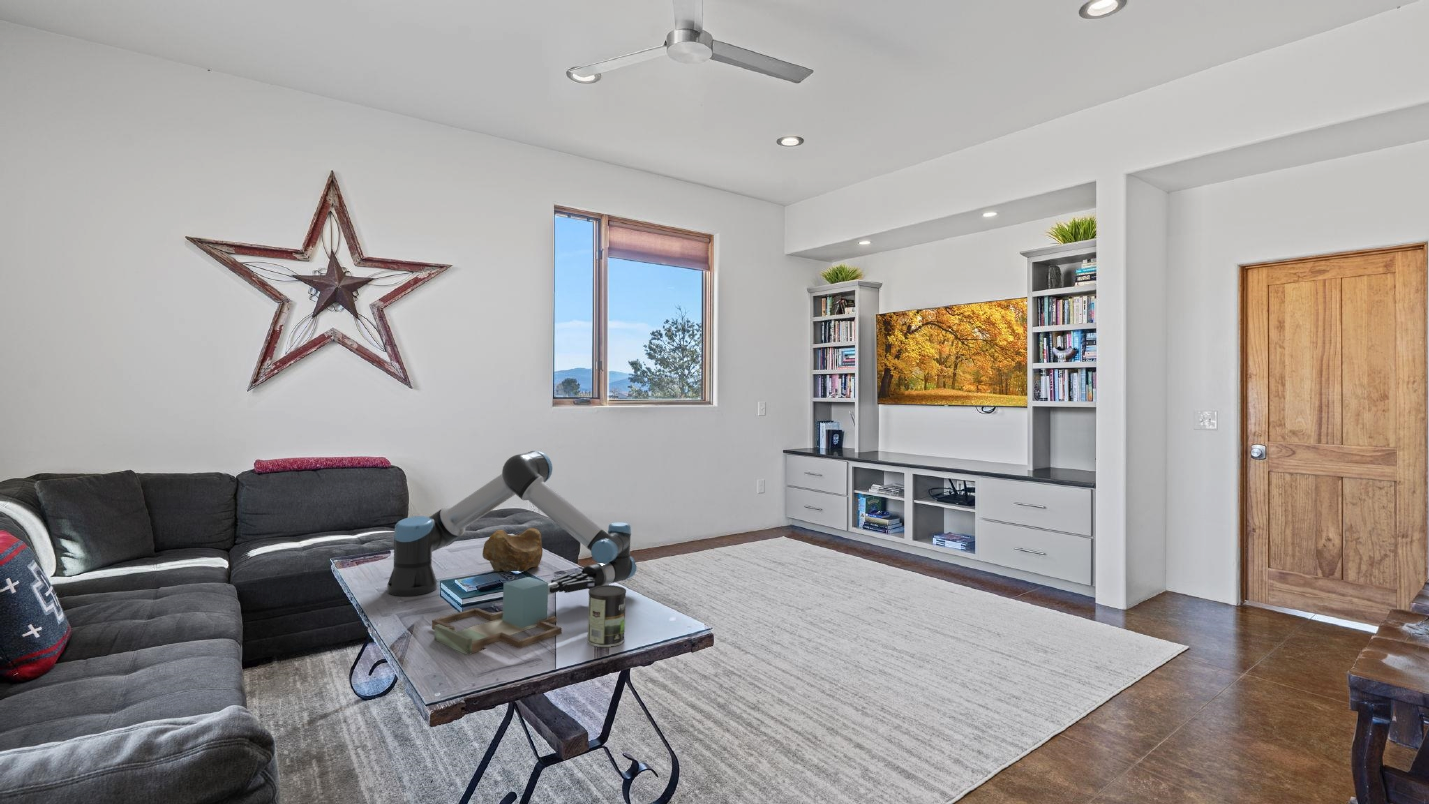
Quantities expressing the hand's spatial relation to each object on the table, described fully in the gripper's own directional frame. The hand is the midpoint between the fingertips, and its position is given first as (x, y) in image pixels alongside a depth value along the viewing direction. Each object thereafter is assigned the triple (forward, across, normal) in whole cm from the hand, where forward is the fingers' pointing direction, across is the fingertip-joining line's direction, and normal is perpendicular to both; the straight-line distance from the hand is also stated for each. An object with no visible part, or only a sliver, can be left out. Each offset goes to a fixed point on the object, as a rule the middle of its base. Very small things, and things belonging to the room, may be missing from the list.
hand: (539, 591), depth 204 cm
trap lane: (+14, 0, -8) cm, 16 cm away
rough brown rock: (-28, +48, -9) cm, 56 cm away
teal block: (+5, 0, -7) cm, 9 cm away
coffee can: (-2, -27, -9) cm, 28 cm away
